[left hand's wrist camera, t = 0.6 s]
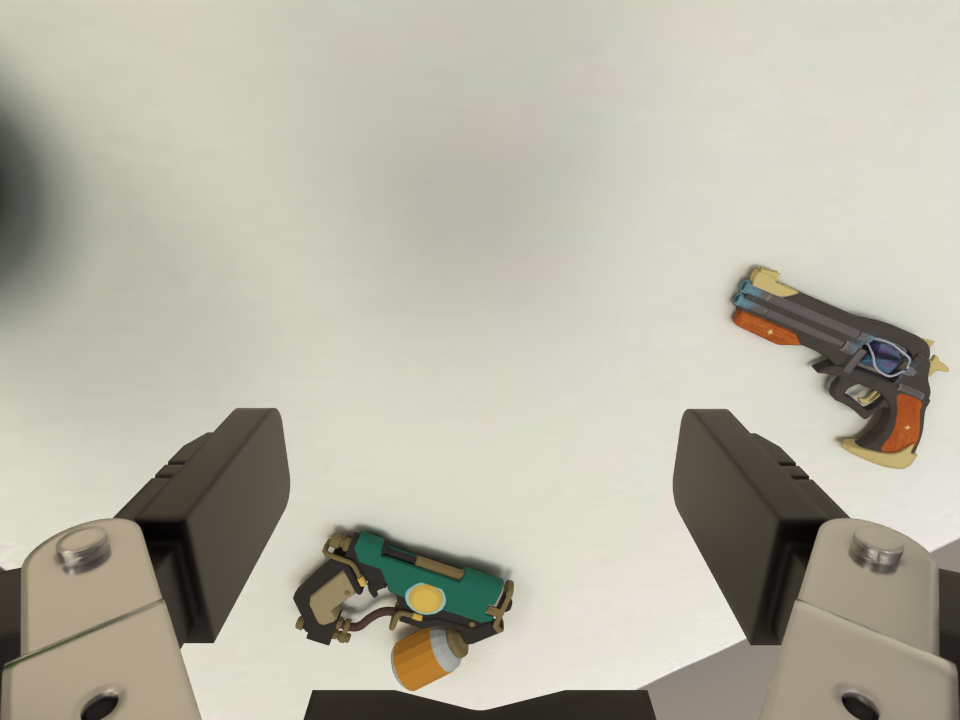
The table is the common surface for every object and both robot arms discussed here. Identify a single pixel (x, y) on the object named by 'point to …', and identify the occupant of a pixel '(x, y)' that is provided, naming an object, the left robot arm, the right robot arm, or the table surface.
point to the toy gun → (850, 361)
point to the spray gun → (404, 604)
